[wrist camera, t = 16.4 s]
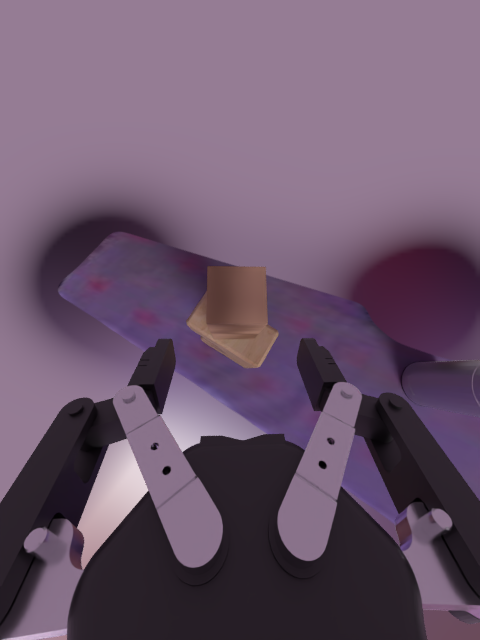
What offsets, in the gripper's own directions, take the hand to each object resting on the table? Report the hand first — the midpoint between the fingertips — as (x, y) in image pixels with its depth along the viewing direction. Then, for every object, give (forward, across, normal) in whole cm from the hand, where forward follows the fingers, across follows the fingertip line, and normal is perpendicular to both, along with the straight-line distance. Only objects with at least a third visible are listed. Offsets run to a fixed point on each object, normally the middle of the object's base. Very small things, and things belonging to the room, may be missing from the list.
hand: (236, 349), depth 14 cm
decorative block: (+27, 0, +21) cm, 34 cm away
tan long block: (+13, 0, +6) cm, 14 cm away
